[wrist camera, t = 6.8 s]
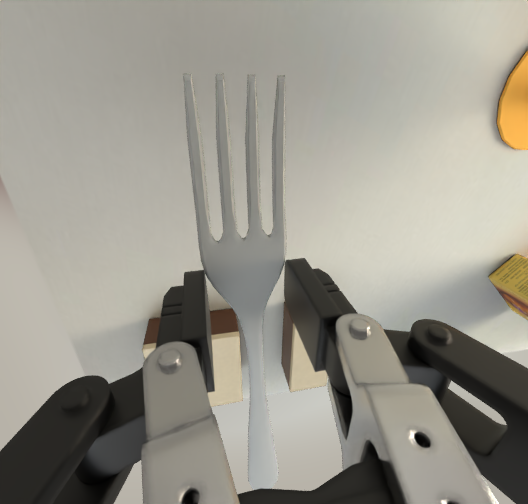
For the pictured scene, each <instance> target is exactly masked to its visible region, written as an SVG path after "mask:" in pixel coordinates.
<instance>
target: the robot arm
mask: <svg viewBox="0 0 528 504" xmlns="http://www.w3.org/2000/svg"><path fill="white" fill-rule="evenodd" d="M284 296H285V302H286V306H287V309H288V311H289V313H290V316H291V318H292V320H293V322H294V325H295V327H296V329H297V332H298V334H299V336H300V339H301V341H302V343H303V345H304V348H305V350H306V352H307V355H308V357H309V359H310V362H311V364H312V366H313V368H314V371H315V372H318V371H324V370H325V371H326V373H327V375H328V377H329V378H328V392H329V396H330V400H331V404H332V409H333V413H334V417H335V422H336V426H337V430H338V434H339V439H340V443H341V449H342V462H343V463H342V464H343V471H342V472H341V473H339V474H338V475H336V476H335V477H333V478H332V479H330V480H329V481H327V482H326V483H324V484H323V485H321V486H320V487H319V488H317V489H315V490H312V491H297V490H281V489H264V488H260V489H257V490H253V491H249V492H245V493H241V494H237V492H236V489H235V486H234V482H233V478H232V474H231V471H230V467H229V463H228V460H227V456H226V453H225V450H224V446H223V442H222V438H221V435H220V431H219V427H218V424H217V420H216V418H215V415H214V414H213V412H212V409H211V405H210V401H209V398H208V392H214V391H215V384H214V368H213V352H212V337H211V321H210V309H209V301H208V294H207V286H206V279H205V272H204V270H199V271H191V272H185V273H184V286H176V287H171V288H170V289H169V291H168V292H167V293H166V295H165V296H164V300H163V308H162V312H161V318H160V324H159V330H158V336H157V342H156V348H155V349H154V350H153V351H152V352H151V353H150V354H149V355H148V356H147V358H146V359H145V361H144V364H143V367H142V368H141V369H139V370H138V371H136V372H135V373H133V374H131V375H129V376H126V377H124V378H122V379H119V380H117V381H115V382H113V383H110V384H108V382H107V381H106V380H105V379H104V378H102V377H100V376H93V375H92V376H84V377H81V378H77V379H75V380H73V381H71V382H69V383H67V384H65V385H64V386H62V387H61V388H60V389H59V390H57V391H56V392H55V393H54V394H53V395H52V396H51V397H50V398H49V399H48V400H47V401H46V402H45V403H44V404H43V406H42V407H41V408H40V409H39V410H38V411H37V412H36V413H35V414H34V415H33V416H32V417H31V419H30V420H29V421H28V422H27V423H26V424H25V425H24V426H23V427H22V428H21V429H20V431H18V433H17V434H16V435H15V436H14V437H13V438H12V439H11V440H10V441H9V442H8V443H7V445H6V446H5V447H4V448H3V449H2V450H1V451H0V504H113V503H114V502H115V500H116V498H117V496H118V494H119V492H120V490H121V488H122V486H123V485H124V483H125V481H126V479H127V477H128V475H129V473H130V471H131V469H132V467H133V465H134V464H135V463H137V462H138V461H140V460H141V461H142V486H143V487H142V488H143V504H498V502H497V500H496V499H495V497H494V495H493V494H492V492H491V490H490V488H489V487H488V485H487V483H486V482H485V480H484V478H483V477H482V475H483V476H484V477H485V478H486V479H487V480H489V481H490V482H491V483H492V484H493V485H495V486H496V487H497V488H498V489H499V490H500V491H502V492H503V493H504V494H505V495H506V496H508V497H509V498H510V499H511V500H513V502H515V503H516V504H528V368H526V367H524V366H522V365H521V364H519V363H517V362H515V361H513V360H511V359H510V358H508V357H506V356H504V355H502V354H500V353H499V352H497V351H495V350H493V349H491V348H489V347H488V346H486V345H484V344H482V343H480V342H479V341H477V340H475V339H473V338H471V337H469V336H468V335H466V334H464V333H462V332H460V331H458V330H457V329H455V328H453V327H451V326H449V325H447V324H445V323H443V322H440V321H436V320H431V319H422V320H418V321H416V322H415V323H413V325H412V327H411V331H410V332H405V331H394V330H385V329H383V328H382V327H381V325H380V324H379V323H378V322H377V321H375V320H374V319H372V318H370V317H368V316H366V315H362V314H358V313H357V312H356V310H355V309H354V308H353V307H352V305H351V304H350V303H349V301H348V300H347V299H346V297H345V296H344V295H343V293H342V292H341V291H340V290H339V288H338V287H337V285H336V284H335V283H334V281H333V280H332V279H331V277H330V276H329V275H328V274H326V273H325V272H323V271H322V270H320V269H312V268H311V267H310V265H309V264H308V262H307V261H306V259H305V258H301V259H293V260H286V262H285V278H284ZM451 380H452V381H453V382H454V383H456V384H457V385H459V386H461V387H462V388H463V389H465V390H466V391H468V392H469V393H471V394H472V395H474V396H475V397H477V398H478V399H480V400H481V401H482V402H484V403H485V404H487V405H488V406H490V407H491V408H493V409H494V410H496V411H497V412H498V413H499V414H500V415H501V416H502V417H503V418H504V420H505V421H506V424H507V425H501V424H499V423H496V422H495V421H493V420H492V419H490V418H489V417H488V416H486V415H485V414H483V413H482V412H481V411H479V410H478V409H476V408H475V407H473V406H472V405H471V404H469V403H468V402H466V401H465V400H464V399H462V398H461V397H459V396H458V395H456V394H455V393H454V392H452V391H451V390H449V389H448V387H449V384H450V382H451ZM481 474H482V475H481Z"/></svg>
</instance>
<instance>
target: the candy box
mask: <svg viewBox="0 0 528 504" xmlns="http://www.w3.org/2000/svg"><path fill="white" fill-rule="evenodd" d="M489 279H490V280H491V282H492V283H493V285H494V286H495V287H496V288H497V290H498V291H499V293H500V294H501V295H502V297H503V298H504V299H505V301H506V302H507V304H508V305H509V307H510V308H511V309H512V310H513V311H514V312H516V313H517V314H519V315H521V316H522V317H524V318H525V319H527V320H528V258H525V257H523V256H521V255H519V254H516V255H514V256H513V257H512V258H510V259H509V260H508V261H507V262H505V263H504V264H503V265H502V266H501V267H499V268H498V269H497V270H496V271H494V272H493V273H492V274H491V275H490V276H489Z"/></svg>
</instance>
